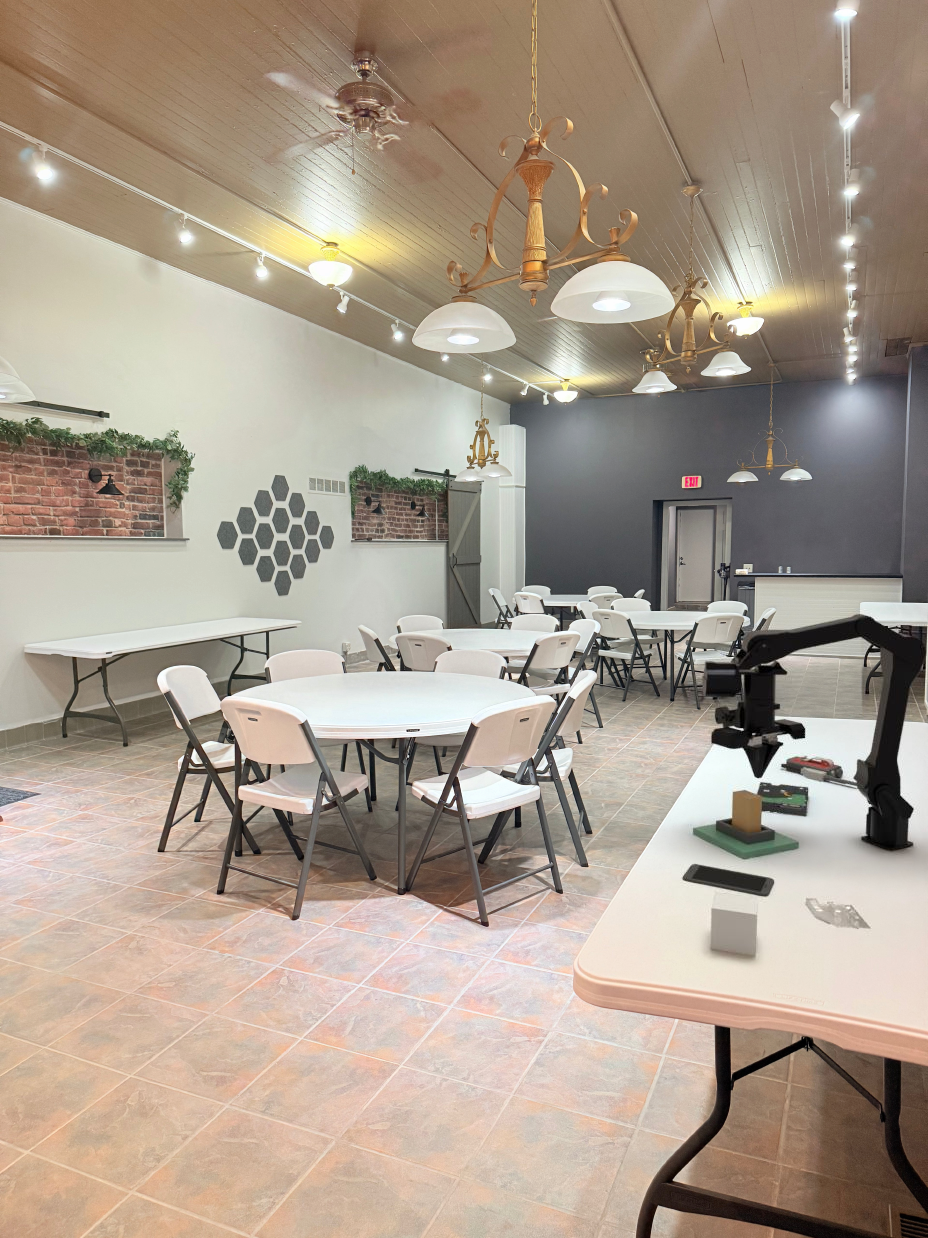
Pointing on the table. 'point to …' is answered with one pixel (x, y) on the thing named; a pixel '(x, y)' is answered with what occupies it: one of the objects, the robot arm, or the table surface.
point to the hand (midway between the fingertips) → (758, 777)
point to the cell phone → (729, 880)
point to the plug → (746, 811)
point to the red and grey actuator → (816, 769)
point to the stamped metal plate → (837, 914)
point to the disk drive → (784, 798)
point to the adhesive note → (734, 923)
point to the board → (745, 839)
